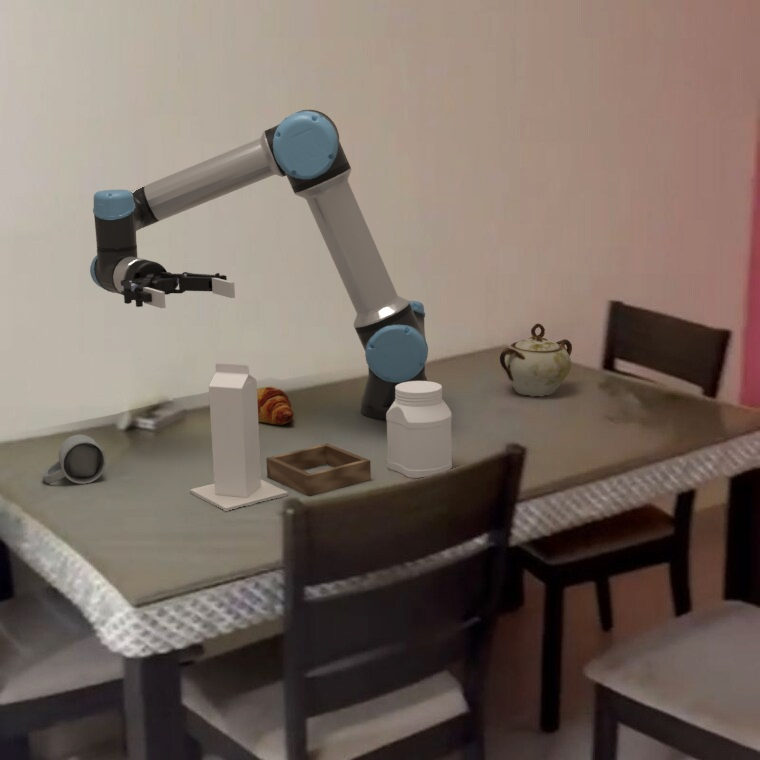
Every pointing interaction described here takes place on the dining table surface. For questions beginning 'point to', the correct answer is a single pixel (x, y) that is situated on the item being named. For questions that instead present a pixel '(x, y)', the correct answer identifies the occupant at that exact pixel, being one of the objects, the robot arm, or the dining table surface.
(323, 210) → the robot arm
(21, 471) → the dining table surface
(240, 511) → the dining table surface
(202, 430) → the dining table surface
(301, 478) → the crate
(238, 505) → the tile
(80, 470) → the ceramic mug
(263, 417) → the croissant
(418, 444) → the jar
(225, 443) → the milk
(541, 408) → the dining table surface
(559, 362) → the sugar bowl
